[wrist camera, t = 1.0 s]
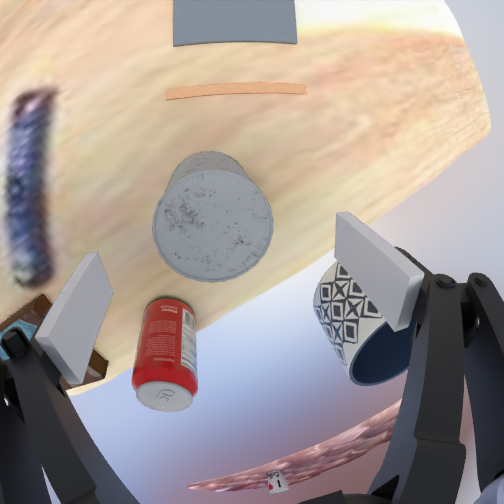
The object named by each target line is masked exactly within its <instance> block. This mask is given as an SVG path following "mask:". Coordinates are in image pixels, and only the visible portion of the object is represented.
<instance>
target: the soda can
mask: <svg viewBox="0 0 504 504" xmlns="http://www.w3.org/2000/svg"><path fill="white" fill-rule="evenodd" d="M132 385H133V388H134V389H135V391H136V397H137V399H138V400H139V401H140V402H141V403H142V404H143V405H144V406H146V407H148V408H150V409H153V410H157V411H162V412H176V411H181V410H184V409H186V408H188V407H189V406H190V405H191V404H192V399H193V397H194V396H195V395H196V393H197V390H198V380H197V358H196V323H195V316H194V313H193V311H192V310H191V309H190V308H189V307H188V306H187V305H186V304H184V303H183V302H180V301H178V300H175V299H159V300H156V301H154V302H152V303H151V304H149V305H148V306H147V308H146V309H145V312H144V315H143V319H142V324H141V329H140V334H139V339H138V345H137V350H136V356H135V362H134V368H133V375H132Z"/></svg>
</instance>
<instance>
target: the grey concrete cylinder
mask: <svg viewBox="0 0 504 504" xmlns="http://www.w3.org/2000/svg"><path fill="white" fill-rule="evenodd" d="M152 231H153V237H154V242H155V245H156V247H157V249H158V252H159V254H160V255H161V257H162V258H163V259H164V261H165V262H166V263H167V264H168V265H169V266H170V267H171V268H172V269H173V270H175V271H176V272H177V273H179V274H181V275H183V276H185V277H187V278H190V279H193V280H196V281H201V282H222V281H227V280H230V279H233V278H236V277H238V276H240V275H242V274H244V273H246V272H247V271H249V270H250V269H251V268H252V267H254V266H255V265H256V264H257V263H258V262H259V261H260V259H261V258H262V257H263V256H264V254H265V252H266V250H267V248H268V247H269V245H270V241H271V237H272V234H273V217H272V212H271V208H270V205H269V203H268V201H267V199H266V197H265V196H264V194H263V193H262V192H261V191H260V190H259V188H258V187H257V186H256V185H255V184H254V183H253V182H252V181H251V179H250V178H249V177H248V176H247V174H246V173H245V171H244V170H243V168H242V167H241V166H240V164H239V163H238V162H237V161H236V160H234V159H233V158H232V157H230V156H228V155H226V154H223V153H221V152H214V151H206V152H200V153H197V154H193V155H192V156H190V157H188V158H186V159H185V160H184V161H183V162H182V163H181V164H179V165H178V167H177V168H176V170H175V171H174V173H173V175H172V178H171V180H170V182H169V184H168V186H167V188H166V190H165V193H164V195H163V196H162V198H161V199H160V201H159V203H158V204H157V207H156V210H155V213H154V216H153V228H152Z"/></svg>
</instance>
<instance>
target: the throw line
mask: <svg viewBox="0 0 504 504" xmlns="http://www.w3.org/2000/svg"><path fill="white" fill-rule="evenodd" d="M234 93H295V94H307V91H306V85H305V84H288V83H232V84H214V85H202V86H192V87H183V88H175V89H168V90H166V99H167V100H169V99H177V98H185V97H194V96H204V95H217V94H234Z"/></svg>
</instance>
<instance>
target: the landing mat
mask: <svg viewBox="0 0 504 504" xmlns="http://www.w3.org/2000/svg"><path fill="white" fill-rule="evenodd" d="M219 42H272V43H288V44H297V31H296V17H295V4H294V0H173V46H174V47H175V46H183V45H192V44H203V43H219Z"/></svg>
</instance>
